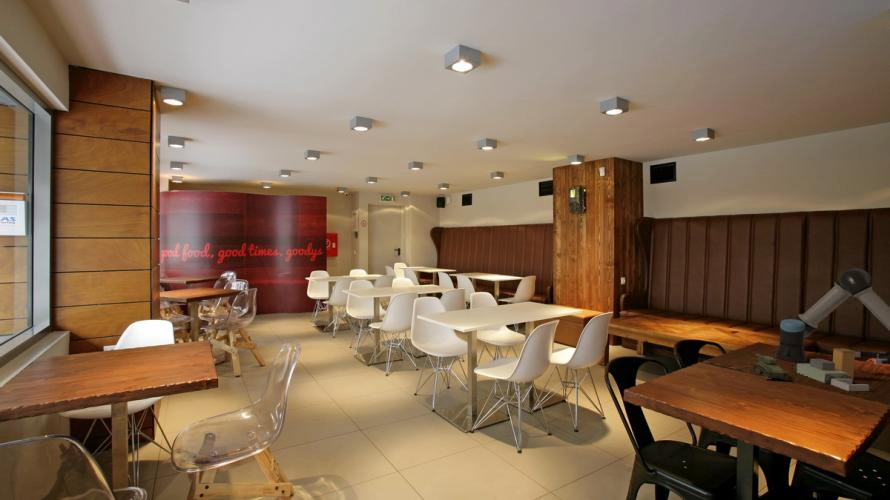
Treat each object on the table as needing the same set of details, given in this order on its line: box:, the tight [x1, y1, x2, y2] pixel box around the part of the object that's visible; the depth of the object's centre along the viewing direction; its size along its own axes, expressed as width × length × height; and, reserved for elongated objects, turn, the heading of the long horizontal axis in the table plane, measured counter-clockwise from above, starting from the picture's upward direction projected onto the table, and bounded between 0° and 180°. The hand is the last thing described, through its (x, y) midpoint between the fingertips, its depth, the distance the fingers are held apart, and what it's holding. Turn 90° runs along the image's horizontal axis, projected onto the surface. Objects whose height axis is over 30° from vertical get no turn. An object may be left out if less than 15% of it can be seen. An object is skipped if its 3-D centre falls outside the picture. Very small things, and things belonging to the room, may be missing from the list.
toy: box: [752, 353, 790, 382], centre depth 231 cm, size 10×18×10 cm, turn 174°
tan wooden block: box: [832, 348, 856, 380], centre depth 230 cm, size 5×7×15 cm
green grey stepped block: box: [793, 358, 870, 392], centre depth 225 cm, size 29×13×9 cm, turn 4°
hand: (861, 357), depth 231 cm, fingers open, 13 cm apart
